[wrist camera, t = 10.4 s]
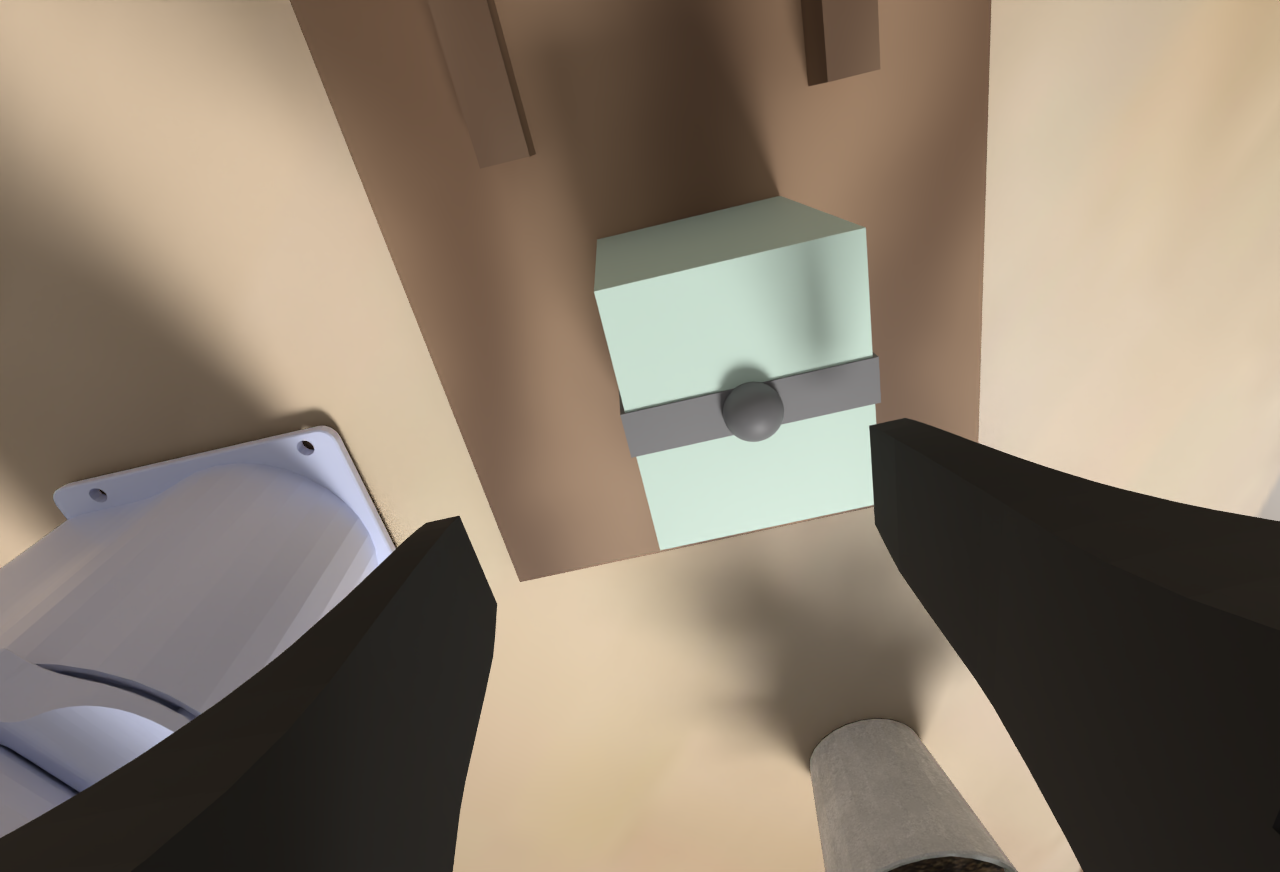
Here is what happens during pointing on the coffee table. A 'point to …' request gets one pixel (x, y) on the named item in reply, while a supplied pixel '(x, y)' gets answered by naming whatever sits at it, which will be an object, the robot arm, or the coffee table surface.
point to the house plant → (894, 806)
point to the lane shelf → (650, 203)
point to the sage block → (743, 366)
